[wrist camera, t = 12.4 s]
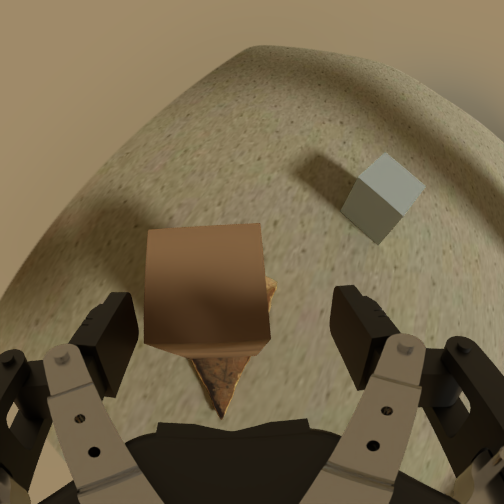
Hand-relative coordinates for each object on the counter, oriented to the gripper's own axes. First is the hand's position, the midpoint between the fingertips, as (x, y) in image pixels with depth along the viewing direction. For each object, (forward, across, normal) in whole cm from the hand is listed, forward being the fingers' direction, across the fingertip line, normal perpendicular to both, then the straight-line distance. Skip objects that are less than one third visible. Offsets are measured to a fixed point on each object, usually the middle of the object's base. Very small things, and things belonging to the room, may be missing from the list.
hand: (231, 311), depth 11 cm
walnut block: (+7, +1, +6) cm, 9 cm away
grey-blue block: (+15, -13, 0) cm, 19 cm away
